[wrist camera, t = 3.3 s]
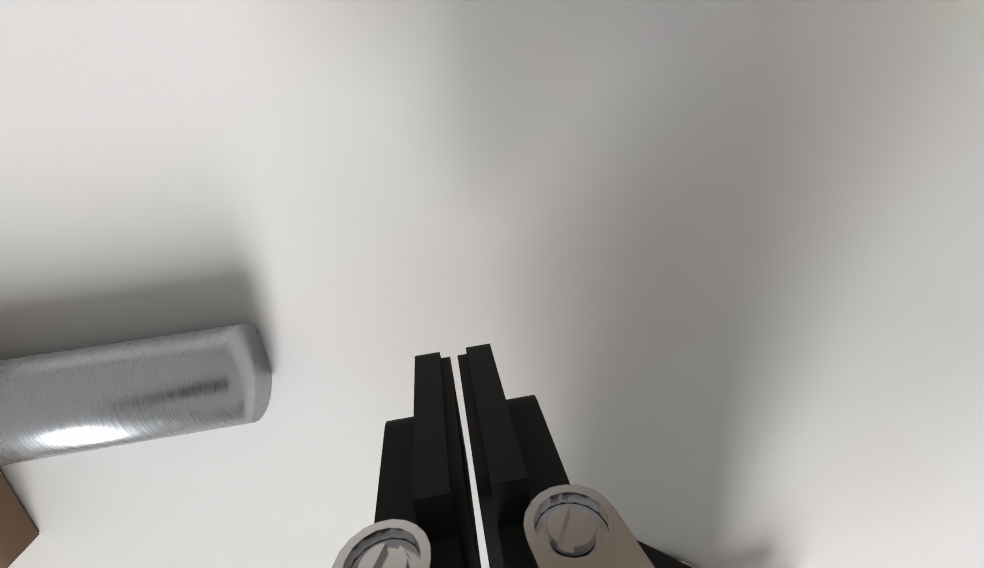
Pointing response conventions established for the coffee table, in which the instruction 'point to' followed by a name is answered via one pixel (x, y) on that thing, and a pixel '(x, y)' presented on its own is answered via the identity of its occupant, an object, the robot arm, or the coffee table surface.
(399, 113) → the coffee table surface
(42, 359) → the axle
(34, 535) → the wooden bridge block
